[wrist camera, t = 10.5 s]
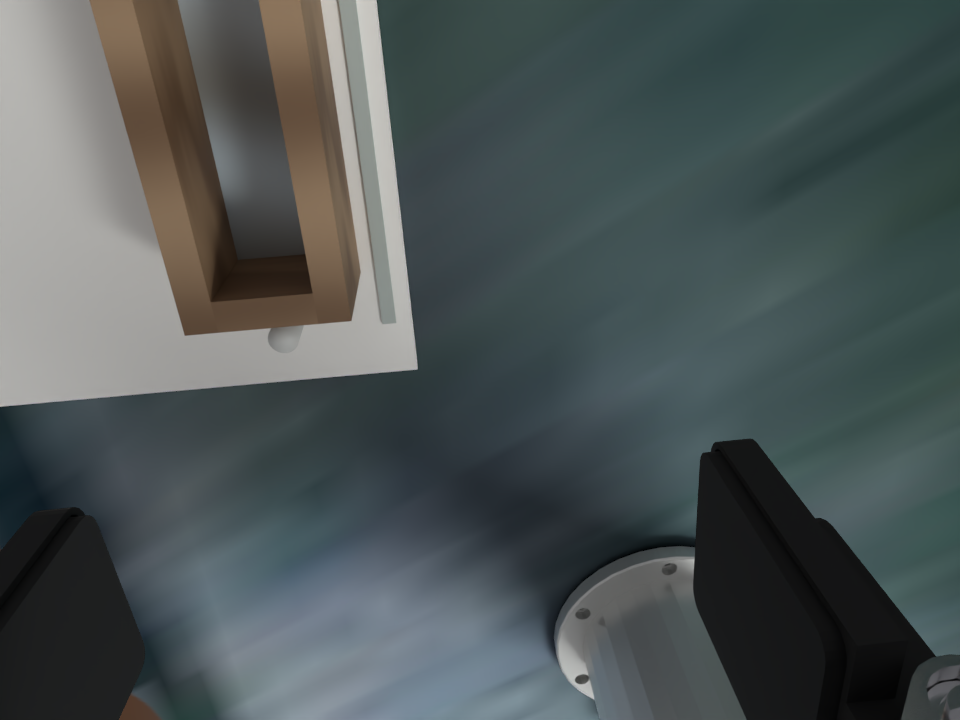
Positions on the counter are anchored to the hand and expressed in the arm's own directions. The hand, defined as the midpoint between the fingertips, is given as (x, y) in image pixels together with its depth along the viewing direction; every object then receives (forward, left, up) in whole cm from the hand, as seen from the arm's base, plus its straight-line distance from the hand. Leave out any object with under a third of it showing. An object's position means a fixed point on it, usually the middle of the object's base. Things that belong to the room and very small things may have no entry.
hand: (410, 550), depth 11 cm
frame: (+4, +6, -21) cm, 22 cm away
